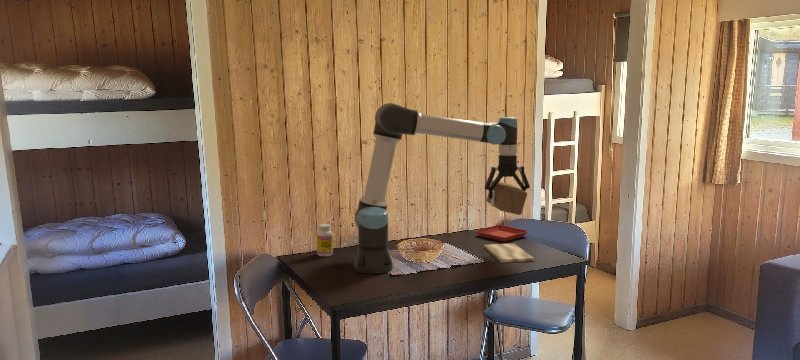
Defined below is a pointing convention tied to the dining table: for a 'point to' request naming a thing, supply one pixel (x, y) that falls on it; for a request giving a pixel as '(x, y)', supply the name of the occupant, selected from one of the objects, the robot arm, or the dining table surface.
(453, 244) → the dining table surface
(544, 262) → the dining table surface
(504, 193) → the block
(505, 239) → the plant saucer
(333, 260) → the dining table surface
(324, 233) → the supplement bottle
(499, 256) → the board
